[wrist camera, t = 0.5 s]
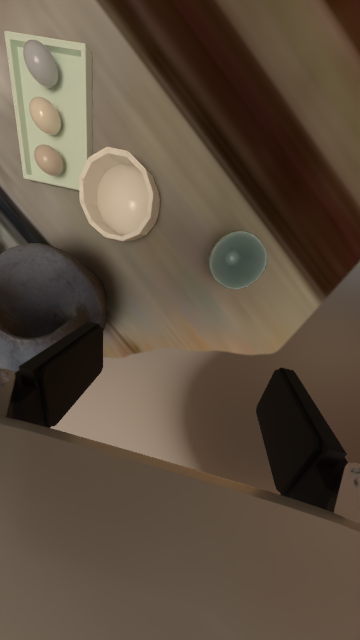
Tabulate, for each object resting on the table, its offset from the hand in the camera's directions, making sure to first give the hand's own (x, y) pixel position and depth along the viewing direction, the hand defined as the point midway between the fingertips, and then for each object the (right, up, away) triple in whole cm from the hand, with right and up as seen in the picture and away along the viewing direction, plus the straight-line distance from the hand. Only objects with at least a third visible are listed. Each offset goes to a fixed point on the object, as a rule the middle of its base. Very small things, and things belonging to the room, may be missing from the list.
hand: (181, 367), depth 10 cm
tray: (-21, +35, +21) cm, 46 cm away
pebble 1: (-20, +40, +18) cm, 48 cm away
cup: (+10, +15, +25) cm, 30 cm away
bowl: (-10, +24, +24) cm, 35 cm away
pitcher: (-21, +9, +33) cm, 40 cm away
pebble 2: (-21, +35, +21) cm, 46 cm away
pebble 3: (-22, +30, +23) cm, 44 cm away
